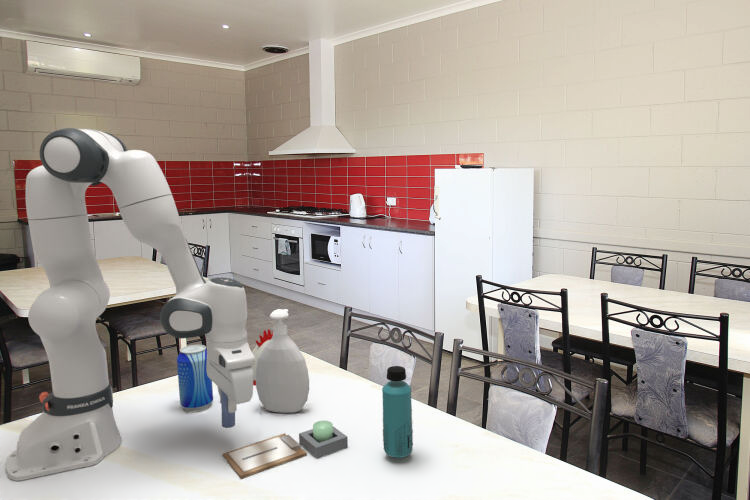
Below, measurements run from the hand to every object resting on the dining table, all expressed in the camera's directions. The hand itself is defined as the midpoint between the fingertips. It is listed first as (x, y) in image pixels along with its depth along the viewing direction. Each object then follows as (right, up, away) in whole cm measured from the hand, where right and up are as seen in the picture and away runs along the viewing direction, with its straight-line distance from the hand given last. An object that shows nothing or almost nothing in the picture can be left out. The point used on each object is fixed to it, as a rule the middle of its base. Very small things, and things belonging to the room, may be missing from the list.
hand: (228, 407), depth 121 cm
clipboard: (+9, -9, -5) cm, 14 cm away
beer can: (-14, -6, +21) cm, 26 cm away
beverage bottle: (+39, -9, -7) cm, 40 cm away
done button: (+22, -7, -1) cm, 23 cm away
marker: (0, -4, +1) cm, 4 cm away
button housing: (+22, -8, -1) cm, 23 cm away
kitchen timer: (+1, -3, +40) cm, 41 cm away
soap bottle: (+10, -6, +18) cm, 22 cm away
